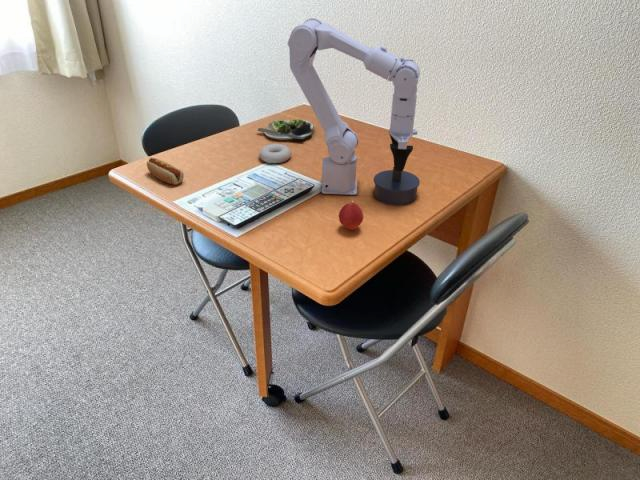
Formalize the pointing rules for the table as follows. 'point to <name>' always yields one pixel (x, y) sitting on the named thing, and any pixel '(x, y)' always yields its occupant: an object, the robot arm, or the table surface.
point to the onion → (351, 215)
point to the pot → (395, 196)
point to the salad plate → (289, 130)
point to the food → (165, 171)
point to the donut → (275, 153)
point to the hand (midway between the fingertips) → (398, 163)
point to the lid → (396, 181)
